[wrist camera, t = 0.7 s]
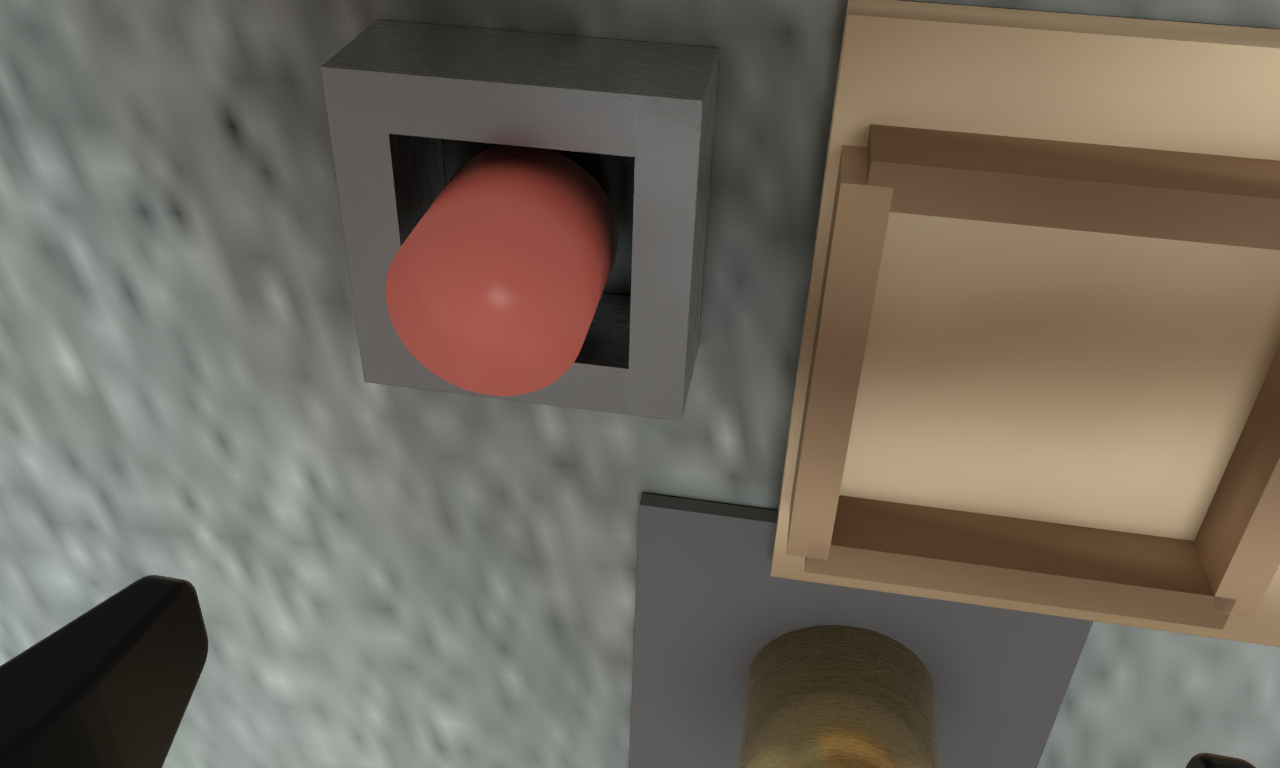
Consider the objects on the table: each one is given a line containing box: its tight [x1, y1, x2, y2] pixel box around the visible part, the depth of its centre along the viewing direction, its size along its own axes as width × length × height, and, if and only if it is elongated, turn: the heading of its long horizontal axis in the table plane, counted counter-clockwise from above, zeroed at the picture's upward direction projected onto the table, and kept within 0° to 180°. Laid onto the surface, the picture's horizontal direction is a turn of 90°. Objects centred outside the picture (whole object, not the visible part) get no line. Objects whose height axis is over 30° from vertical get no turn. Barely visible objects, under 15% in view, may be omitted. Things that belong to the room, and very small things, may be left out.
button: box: [385, 145, 619, 396], centre depth 18 cm, size 3×3×3 cm
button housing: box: [321, 20, 720, 421], centre depth 19 cm, size 6×6×2 cm
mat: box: [629, 493, 1093, 768], centre depth 26 cm, size 10×10×1 cm
